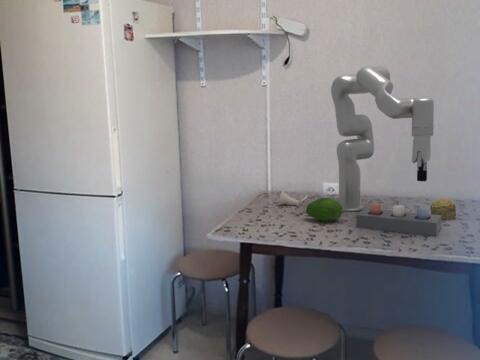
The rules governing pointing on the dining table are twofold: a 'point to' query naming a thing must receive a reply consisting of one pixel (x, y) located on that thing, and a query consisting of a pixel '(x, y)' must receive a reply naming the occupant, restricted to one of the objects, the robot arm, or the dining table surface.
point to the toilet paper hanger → (289, 199)
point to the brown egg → (375, 208)
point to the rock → (443, 208)
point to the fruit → (324, 209)
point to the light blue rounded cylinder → (423, 213)
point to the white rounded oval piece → (398, 211)
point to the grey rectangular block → (399, 222)
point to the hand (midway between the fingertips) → (421, 180)
